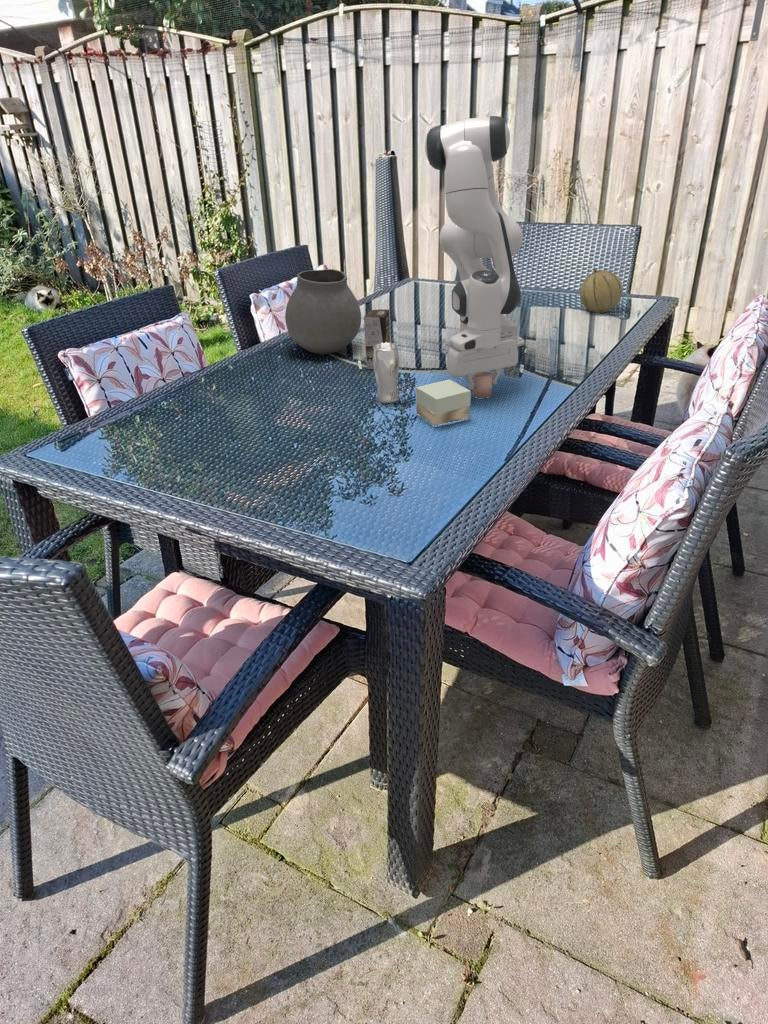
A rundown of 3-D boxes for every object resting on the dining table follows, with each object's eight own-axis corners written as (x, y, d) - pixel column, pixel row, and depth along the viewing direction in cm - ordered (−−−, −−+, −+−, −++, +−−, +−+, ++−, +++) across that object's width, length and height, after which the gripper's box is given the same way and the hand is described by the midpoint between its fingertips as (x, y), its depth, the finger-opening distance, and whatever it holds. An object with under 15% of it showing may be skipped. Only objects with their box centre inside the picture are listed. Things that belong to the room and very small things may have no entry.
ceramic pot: (318, 368, 217) (310, 286, 205) (275, 351, 233) (265, 274, 221) (377, 349, 231) (374, 271, 218) (333, 335, 247) (326, 261, 234)
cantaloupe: (624, 316, 250) (630, 273, 243) (583, 318, 251) (587, 275, 243) (613, 305, 263) (618, 264, 255) (574, 307, 264) (577, 266, 256)
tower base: (450, 408, 186) (450, 394, 184) (468, 421, 178) (469, 406, 176) (416, 415, 183) (416, 401, 181) (433, 429, 175) (433, 414, 173)
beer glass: (403, 395, 194) (402, 343, 187) (395, 405, 189) (393, 351, 181) (380, 393, 196) (377, 341, 189) (371, 403, 191) (368, 349, 183)
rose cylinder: (485, 390, 195) (486, 370, 192) (494, 396, 191) (495, 375, 188) (469, 394, 193) (470, 373, 190) (478, 400, 189) (479, 379, 186)
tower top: (449, 393, 185) (449, 379, 183) (470, 405, 177) (470, 390, 175) (416, 401, 181) (416, 387, 179) (436, 414, 173) (436, 399, 171)
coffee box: (386, 369, 213) (384, 317, 205) (366, 369, 214) (362, 316, 206) (392, 360, 221) (390, 308, 213) (372, 359, 222) (369, 308, 214)
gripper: (511, 327, 189) (509, 376, 196) (444, 339, 183) (444, 389, 190) (524, 333, 184) (521, 383, 191) (455, 345, 178) (455, 396, 185)
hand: (482, 386), depth 191 cm, fingers closed on rose cylinder, 5 cm apart
